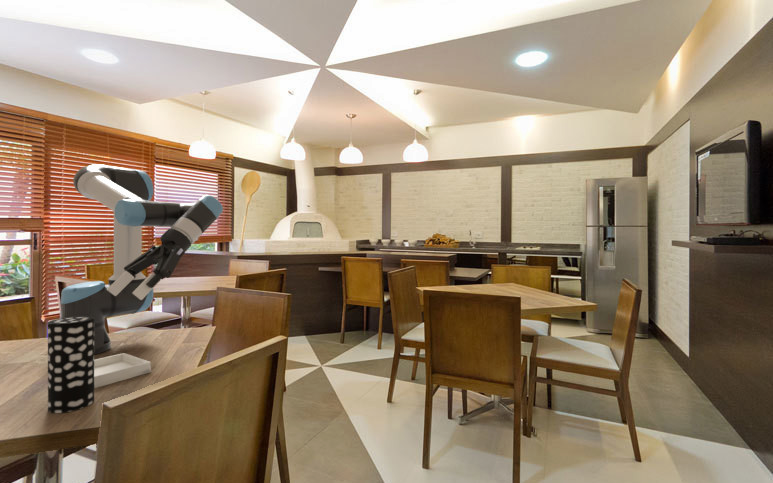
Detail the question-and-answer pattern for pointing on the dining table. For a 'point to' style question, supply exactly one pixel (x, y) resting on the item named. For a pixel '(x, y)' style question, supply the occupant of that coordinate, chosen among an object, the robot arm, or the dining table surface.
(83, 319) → the white-spotted black cylinder
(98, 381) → the tray
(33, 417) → the dining table surface
